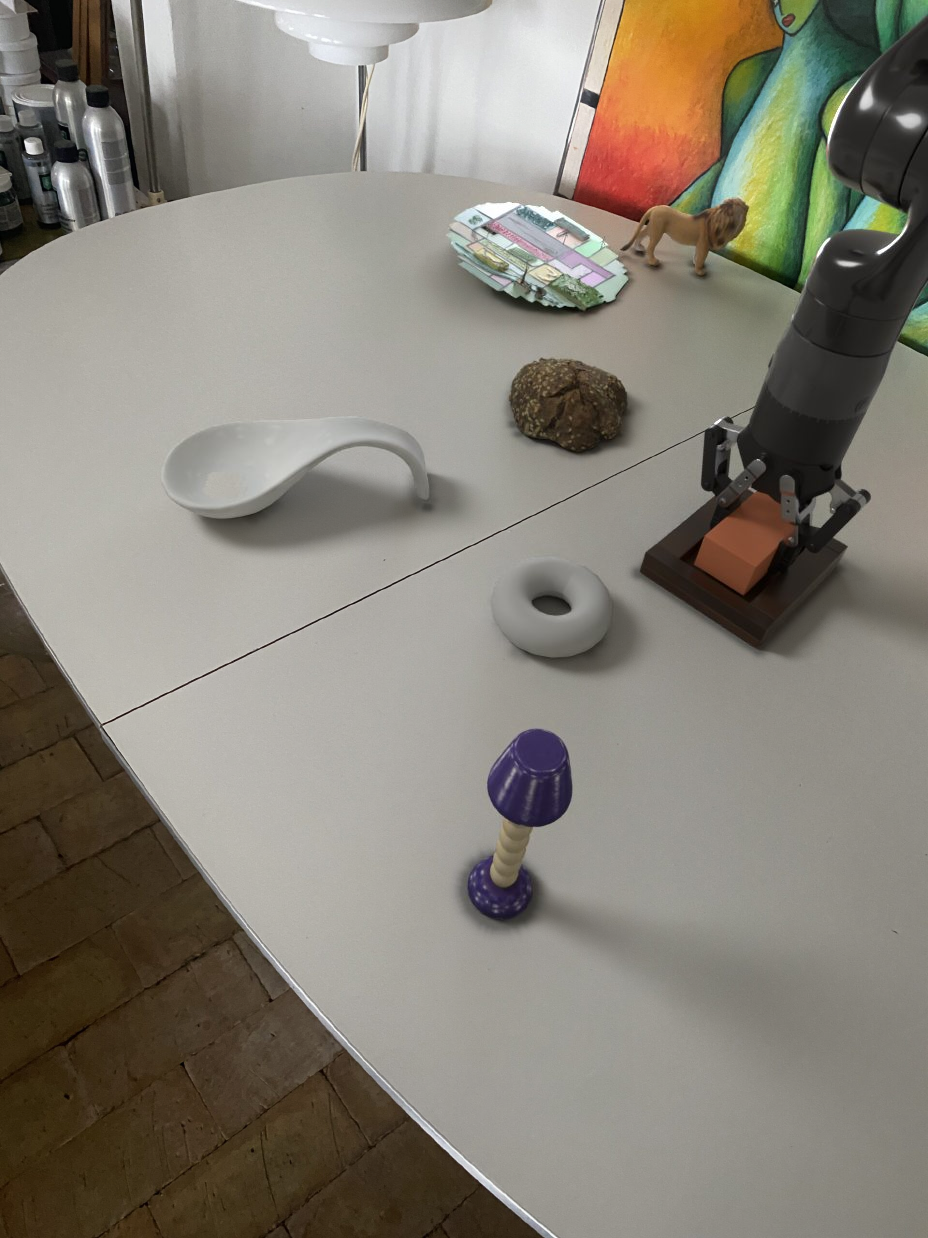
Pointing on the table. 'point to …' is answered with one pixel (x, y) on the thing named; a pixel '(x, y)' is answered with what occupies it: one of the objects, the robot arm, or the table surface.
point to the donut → (547, 630)
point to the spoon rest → (274, 458)
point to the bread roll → (567, 403)
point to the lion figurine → (692, 229)
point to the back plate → (724, 605)
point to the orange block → (743, 543)
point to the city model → (536, 255)
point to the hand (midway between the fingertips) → (747, 550)
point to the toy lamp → (520, 817)
